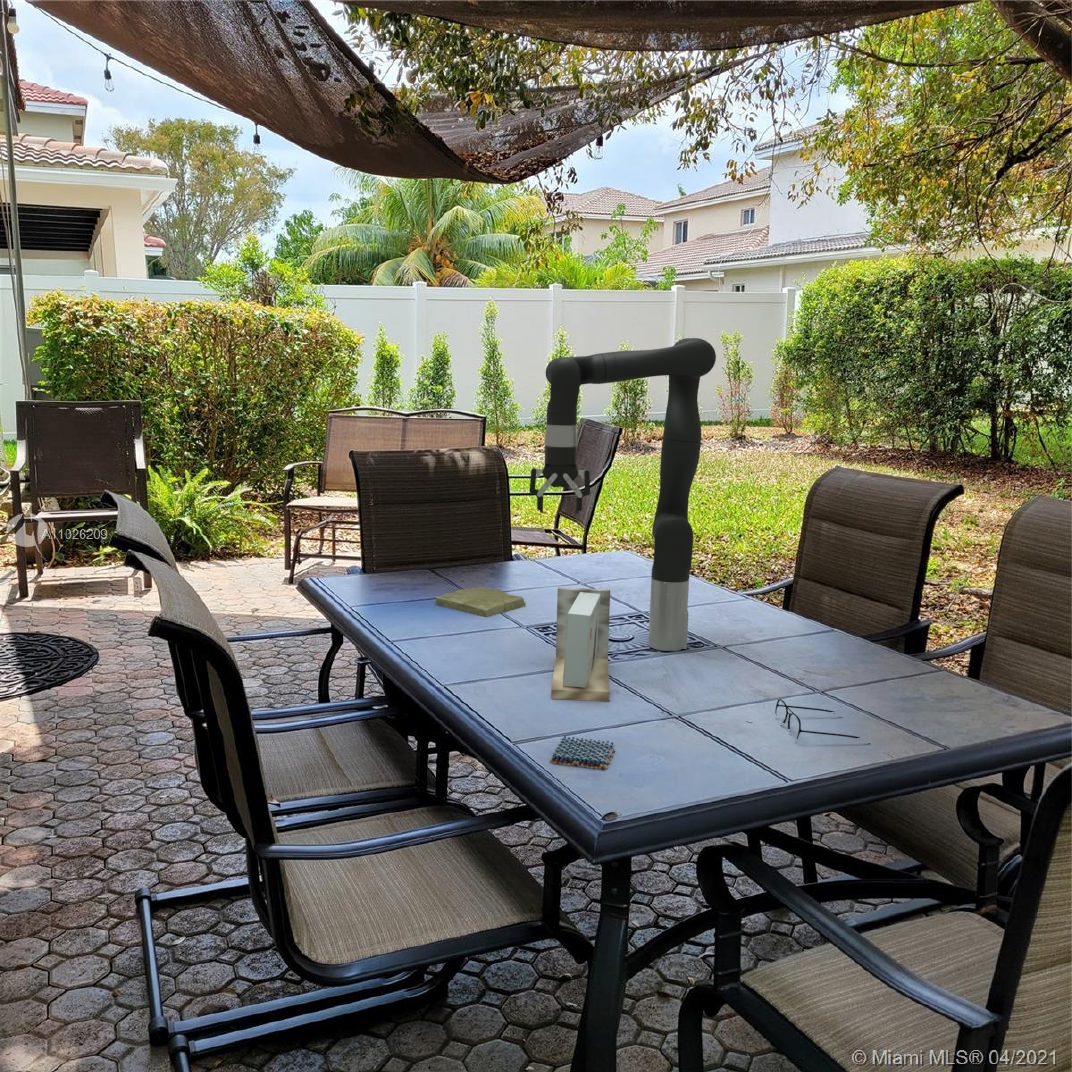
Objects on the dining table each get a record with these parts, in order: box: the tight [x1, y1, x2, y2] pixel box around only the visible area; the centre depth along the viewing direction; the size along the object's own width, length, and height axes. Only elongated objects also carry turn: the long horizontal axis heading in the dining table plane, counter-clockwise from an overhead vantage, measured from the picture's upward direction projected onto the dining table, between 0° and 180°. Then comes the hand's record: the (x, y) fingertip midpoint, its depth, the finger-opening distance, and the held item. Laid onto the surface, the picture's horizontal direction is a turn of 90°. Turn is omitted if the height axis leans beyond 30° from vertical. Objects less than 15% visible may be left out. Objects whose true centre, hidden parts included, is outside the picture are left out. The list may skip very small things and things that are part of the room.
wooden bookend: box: [550, 587, 611, 702], centre depth 216 cm, size 12×25×18 cm, turn 177°
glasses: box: [774, 698, 860, 740], centre depth 191 cm, size 14×15×5 cm
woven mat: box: [548, 735, 616, 770], centre depth 176 cm, size 10×11×2 cm
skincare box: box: [563, 592, 601, 688], centre depth 215 cm, size 21×5×16 cm, turn 170°
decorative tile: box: [435, 586, 527, 618], centre depth 283 cm, size 19×20×4 cm
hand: (559, 512), depth 234 cm, fingers open, 8 cm apart
